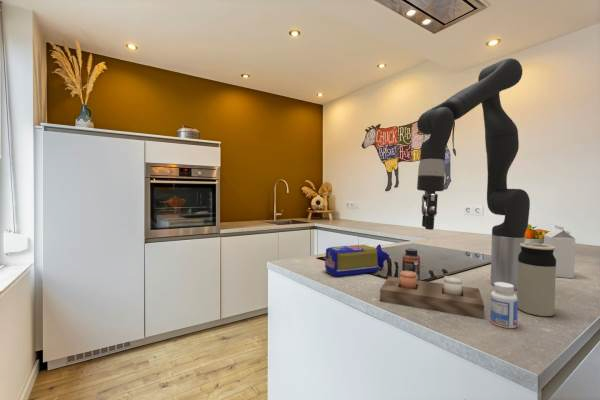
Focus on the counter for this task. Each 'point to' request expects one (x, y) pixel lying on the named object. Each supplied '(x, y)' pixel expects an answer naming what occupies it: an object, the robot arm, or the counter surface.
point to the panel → (433, 297)
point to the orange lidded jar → (408, 279)
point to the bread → (354, 260)
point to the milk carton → (562, 251)
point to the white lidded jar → (452, 285)
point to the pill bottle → (504, 305)
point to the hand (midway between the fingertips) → (427, 228)
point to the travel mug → (536, 279)
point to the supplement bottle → (411, 262)
